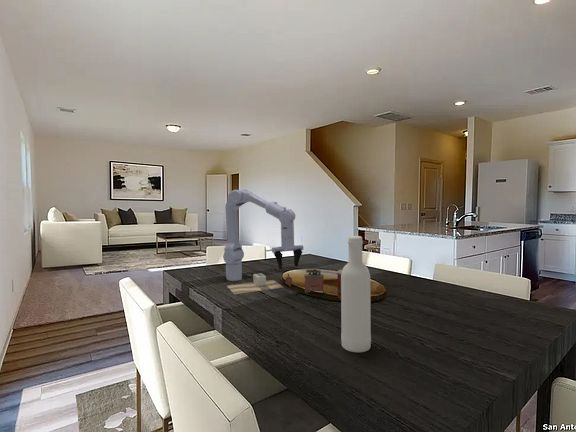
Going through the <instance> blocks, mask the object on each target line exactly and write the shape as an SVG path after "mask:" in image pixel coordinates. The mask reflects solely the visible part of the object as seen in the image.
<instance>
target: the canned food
mask: <svg viewBox="0 0 576 432" xmlns="http://www.w3.org/2000/svg"><path fill="white" fill-rule="evenodd" d="M342 270H343V268H342V269H339V270H337V273H336V274H337V275H336V276H337V279H336V280H337V298H338V300H339V301H341V274H342Z"/></svg>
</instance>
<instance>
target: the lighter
mask: <svg viewBox="0 0 576 432" xmlns="http://www.w3.org/2000/svg"><path fill="white" fill-rule="evenodd" d="M305 273H307V274H304V293H305V294H308V292H310V291H323V290H324V278H325V277H324V274H322V270H321V269H317V268H313V269H312V268H311V269H310V268H306V269H305ZM324 291H325V290H324Z"/></svg>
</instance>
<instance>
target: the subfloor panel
mask: <svg viewBox="0 0 576 432" xmlns="http://www.w3.org/2000/svg"><path fill="white" fill-rule="evenodd" d="M226 287H227V288H228V290H230V291H231V293H233V295H239V294H245V293H246V294H247V293H253V292H259V291H267V290H268V291H269V290H274V289H283V288H284V285H282V284H280V283H279V282H278V281H276V280H274V279H269V280H268V279H266V285H264V286H256V285H255V284H254V283H253V281H251V282H244V283H237V284H236V283H235V284H229V285H226Z"/></svg>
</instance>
